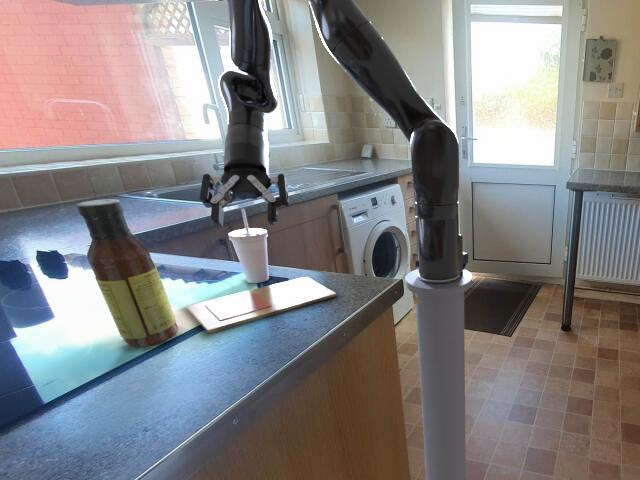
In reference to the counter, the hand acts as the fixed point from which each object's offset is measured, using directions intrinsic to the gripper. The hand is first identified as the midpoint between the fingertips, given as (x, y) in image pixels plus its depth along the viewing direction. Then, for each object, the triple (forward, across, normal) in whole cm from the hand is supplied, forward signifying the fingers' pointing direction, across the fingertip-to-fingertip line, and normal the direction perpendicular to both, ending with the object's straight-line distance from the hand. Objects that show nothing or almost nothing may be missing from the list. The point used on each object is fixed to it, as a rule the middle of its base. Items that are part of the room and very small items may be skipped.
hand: (245, 223), depth 76 cm
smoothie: (+8, 0, +8) cm, 12 cm away
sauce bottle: (+23, -9, -7) cm, 26 cm away
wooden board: (+16, +4, 0) cm, 17 cm away
